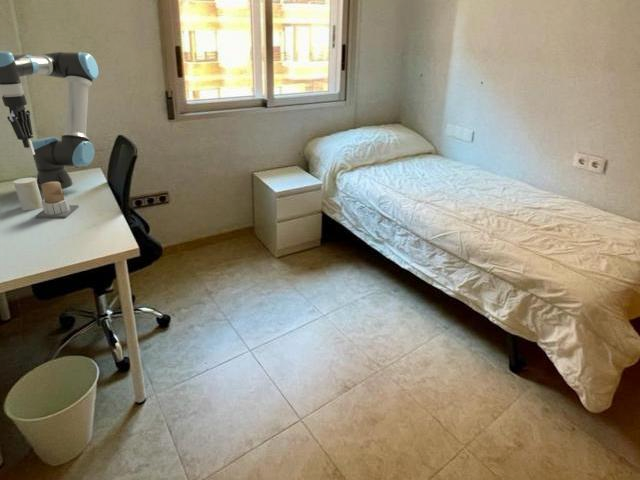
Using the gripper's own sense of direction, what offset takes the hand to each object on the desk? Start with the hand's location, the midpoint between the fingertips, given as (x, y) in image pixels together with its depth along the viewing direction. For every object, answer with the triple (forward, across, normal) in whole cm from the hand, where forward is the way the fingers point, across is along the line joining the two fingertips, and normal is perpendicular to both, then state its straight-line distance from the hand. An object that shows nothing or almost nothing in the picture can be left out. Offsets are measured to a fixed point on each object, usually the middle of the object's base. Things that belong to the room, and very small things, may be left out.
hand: (30, 154), depth 180 cm
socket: (+23, +7, +8) cm, 25 cm away
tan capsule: (+22, +7, +8) cm, 24 cm away
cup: (+24, 0, -6) cm, 24 cm away
